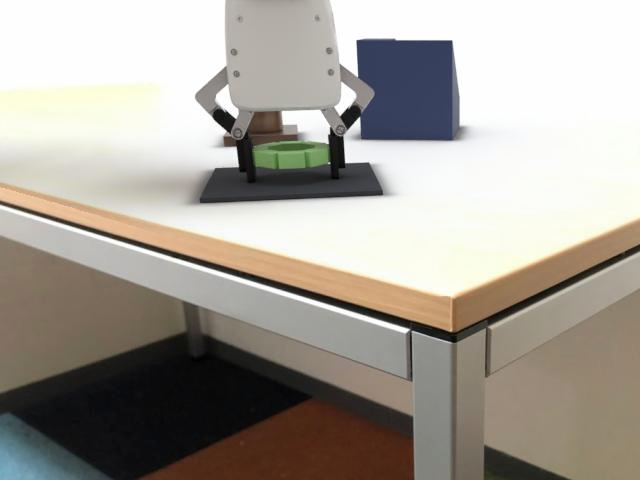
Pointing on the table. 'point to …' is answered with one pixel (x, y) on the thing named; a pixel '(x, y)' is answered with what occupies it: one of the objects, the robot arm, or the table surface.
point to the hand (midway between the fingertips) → (293, 176)
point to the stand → (266, 129)
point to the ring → (291, 154)
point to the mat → (291, 183)
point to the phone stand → (409, 89)
